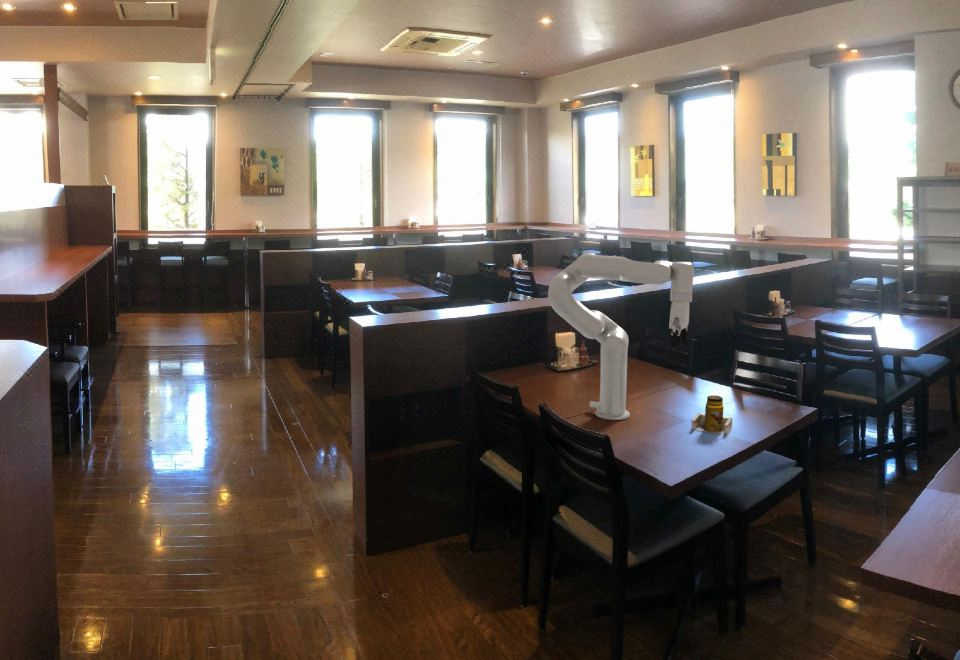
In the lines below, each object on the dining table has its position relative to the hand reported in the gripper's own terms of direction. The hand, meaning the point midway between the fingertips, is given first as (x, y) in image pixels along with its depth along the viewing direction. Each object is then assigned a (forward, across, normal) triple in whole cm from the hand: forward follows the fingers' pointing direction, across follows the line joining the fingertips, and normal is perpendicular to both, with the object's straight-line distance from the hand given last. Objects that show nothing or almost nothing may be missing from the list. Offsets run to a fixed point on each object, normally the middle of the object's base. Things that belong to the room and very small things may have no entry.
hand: (678, 344), depth 273 cm
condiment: (+29, +5, +14) cm, 32 cm away
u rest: (+28, +5, +14) cm, 32 cm away
